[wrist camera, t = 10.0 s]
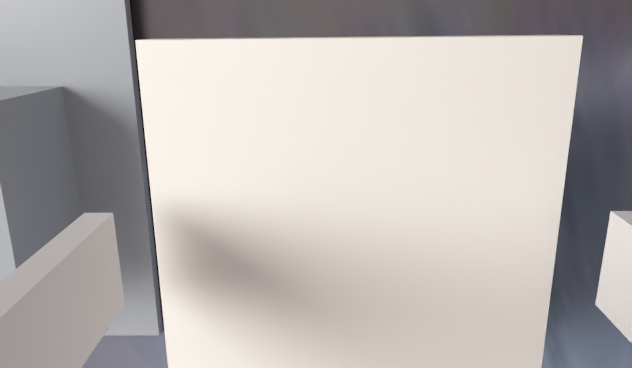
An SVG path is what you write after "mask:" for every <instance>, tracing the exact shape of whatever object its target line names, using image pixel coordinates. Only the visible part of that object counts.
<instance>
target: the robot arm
mask: <svg viewBox="0 0 632 368" xmlns="http://www.w3.org/2000/svg"><path fill="white" fill-rule="evenodd" d="M124 305H125V301H124V293H123V285H122V278H121V270H120V262H119V255H118V247H117V239H116V231H115V224H114V216H113V213H84V214H82V215H81V216H80V217H79V218H78V219H76V220H75V221H74V222H73V223H71V224H70V225H69V226H68V227H67V228H65V229H64V230H63V231H62V232H60V233H59V234H58V235H57V236H56V237H54V238H53V239H52V240H51V241H50V242H48V243H47V244H46V245H45V246H43V247H42V248H41V249H40V250H39V251H37V252H36V253H35V254H34V255H33V256H31V257H30V258H29V259H28V260H26V261H25V262H24V263H23V264H22V265H20V266H19V267H18V268H17V269H15V270H14V271H13V272H12V273H11V274H9V275H8V276H7V277H6V278H5V279H3V280H2V281H1V282H0V368H82V366H83V365H84V363H85V362H86V360H87V359H88V357H89V356H90V355H91V353H92V352H93V350H94V349H95V347H96V346H97V344H98V343H99V341H100V340H101V339H102V337H103V336H104V334H105V333H106V331H107V330H108V328H109V327H110V326H111V324H112V323H113V321H114V320H115V318H116V317H117V315H118V314H119V313H120V311H121V310H122V308H123V307H124ZM595 305H596V306H597V307H598V308H599V309H600V310H601V311H602V312H603V313H604V314H605V315H606V316H607V317H608V319H609V320H610V321H611V322H612V323H613V324H614V325H615V326H616V327H617V328H618V329H619V330H620V331H621V332H622V333H623V335H624V336H625V337H626V338H627V339H628V340H629V341H630V342H631V343H632V211H611V212H610V218H609V224H608V230H607V236H606V242H605V248H604V254H603V261H602V267H601V273H600V279H599V285H598V291H597V297H596V303H595Z"/></svg>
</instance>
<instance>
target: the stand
mask: <svg viewBox="0 0 632 368" xmlns="http://www.w3.org/2000/svg"><path fill="white" fill-rule="evenodd" d="M84 213H113V216H114V224H115V231H116V239H117V247H118V255H119V262H120V270H121V278H122V285H123V293H124V301H125V305H124V307H123V308H122V310H121V311H120V313H119V314H118V315H117V317H116V318H115V320H114V321H113V323H112V324H111V326H110V327H109V328H108V330H107V331H106V333H105V334H104V335H160V333H161V331H162V329H163V326H162V316H161V307H160V297H159V287H158V277H157V267H156V257H155V247H154V237H153V227H152V218H151V208H150V198H149V188H148V178H147V168H146V158H145V148H144V138H143V129H142V119H141V109H140V99H139V89H138V79H137V69H136V59H135V49H134V40H133V30H132V20H131V10H130V0H0V282H1V281H2V280H3V279H5V278H6V277H7V276H8V275H9V274H11V273H12V272H13V271H14V270H15V269H17V268H18V267H19V266H20V265H22V264H23V263H24V262H25V261H26V260H28V259H29V258H30V257H31V256H33V255H34V254H35V253H36V252H37V251H39V250H40V249H41V248H42V247H43V246H45V245H46V244H47V243H48V242H50V241H51V240H52V239H53V238H54V237H56V236H57V235H58V234H59V233H60V232H62V231H63V230H64V229H65V228H67V227H68V226H69V225H70V224H71V223H73V222H74V221H75V220H76V219H78V218H79V217H80V216H81V215H82V214H84Z"/></svg>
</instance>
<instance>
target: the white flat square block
mask: <svg viewBox="0 0 632 368" xmlns="http://www.w3.org/2000/svg"><path fill="white" fill-rule="evenodd" d="M582 41H583V36H579V35H482V36H380V37H277V38H175V39H142V40H135V43H136V53H137V63H138V73H139V83H140V93H141V102H142V112H143V122H144V132H145V142H146V152H147V162H148V172H149V182H150V191H151V201H152V211H153V221H154V231H155V241H156V251H157V261H158V271H159V281H160V290H161V300H162V310H163V320H164V330H165V340H166V350H167V360H168V368H541V367H542V359H543V351H544V343H545V335H546V327H547V319H548V311H549V303H550V295H551V287H552V279H553V271H554V263H555V255H556V247H557V239H558V232H559V224H560V216H561V208H562V200H563V192H564V184H565V176H566V168H567V160H568V152H569V144H570V136H571V128H572V120H573V112H574V104H575V96H576V88H577V80H578V73H579V65H580V57H581V49H582Z"/></svg>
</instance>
